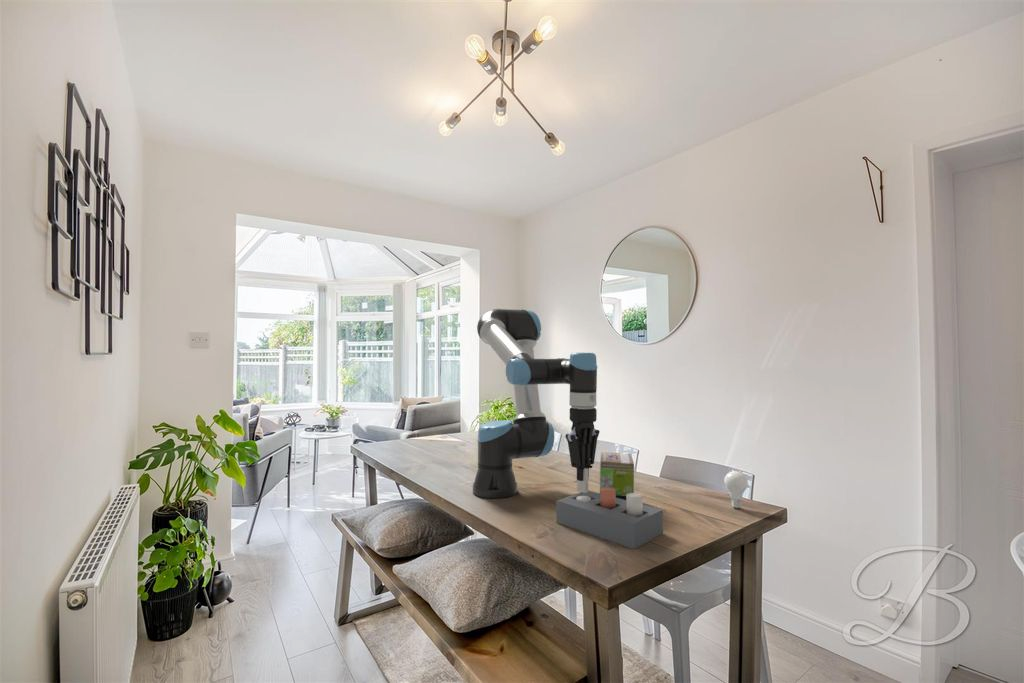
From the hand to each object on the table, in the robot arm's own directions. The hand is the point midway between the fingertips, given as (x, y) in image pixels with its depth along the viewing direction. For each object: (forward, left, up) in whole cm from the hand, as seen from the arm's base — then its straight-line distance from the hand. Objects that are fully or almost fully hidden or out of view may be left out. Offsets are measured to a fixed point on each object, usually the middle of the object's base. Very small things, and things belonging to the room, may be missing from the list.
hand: (582, 491), depth 127 cm
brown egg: (+8, 0, -3) cm, 9 cm away
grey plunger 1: (0, 0, -7) cm, 7 cm away
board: (+8, 0, -8) cm, 11 cm away
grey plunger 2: (+16, 0, -3) cm, 17 cm away
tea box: (-1, +18, -8) cm, 20 cm away
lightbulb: (+26, +41, -8) cm, 49 cm away
